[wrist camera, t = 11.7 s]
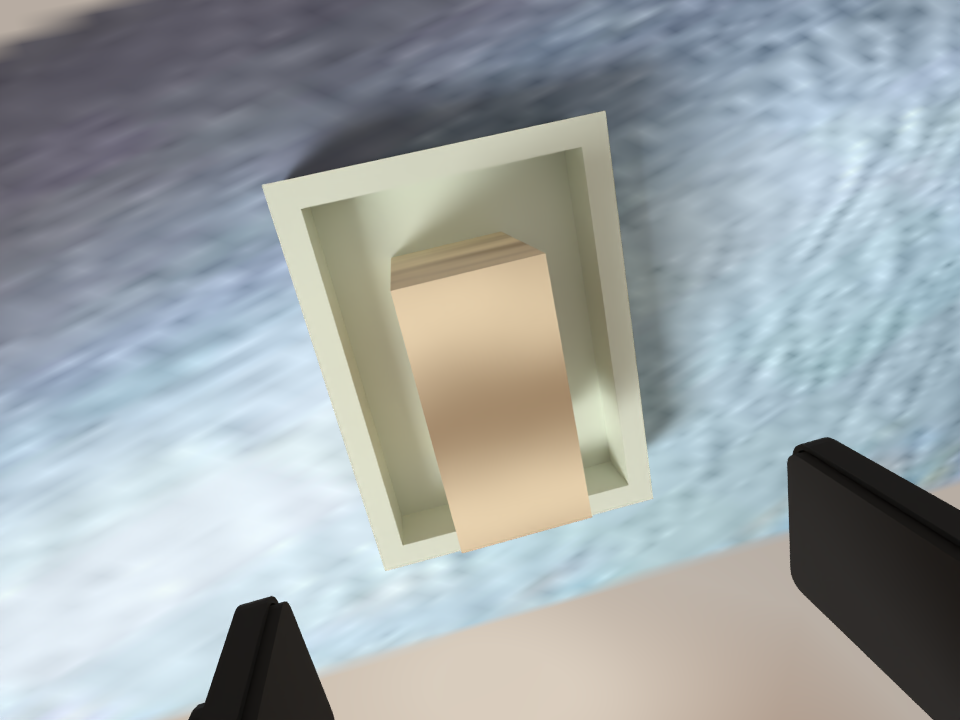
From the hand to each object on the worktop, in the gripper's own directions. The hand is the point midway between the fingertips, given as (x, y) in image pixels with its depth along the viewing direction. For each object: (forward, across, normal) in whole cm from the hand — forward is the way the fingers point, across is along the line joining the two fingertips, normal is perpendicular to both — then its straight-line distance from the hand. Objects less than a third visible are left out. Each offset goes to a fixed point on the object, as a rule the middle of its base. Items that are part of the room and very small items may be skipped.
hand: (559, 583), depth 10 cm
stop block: (+15, -1, 0) cm, 15 cm away
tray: (+15, -1, 0) cm, 15 cm away
